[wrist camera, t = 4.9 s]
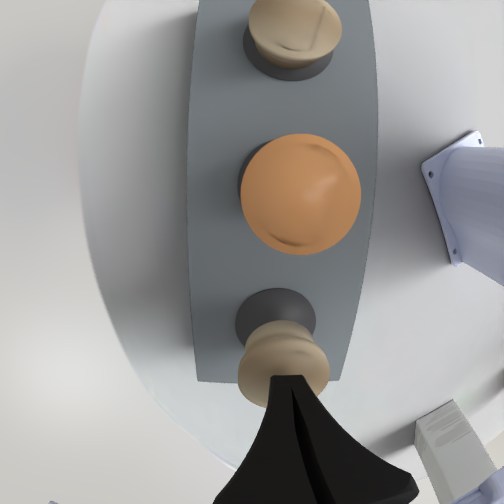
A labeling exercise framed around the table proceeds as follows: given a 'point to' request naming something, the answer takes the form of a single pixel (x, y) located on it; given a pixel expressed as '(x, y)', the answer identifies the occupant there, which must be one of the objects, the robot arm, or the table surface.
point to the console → (232, 171)
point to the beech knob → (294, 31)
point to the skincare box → (451, 453)
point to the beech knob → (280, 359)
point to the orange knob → (300, 194)
